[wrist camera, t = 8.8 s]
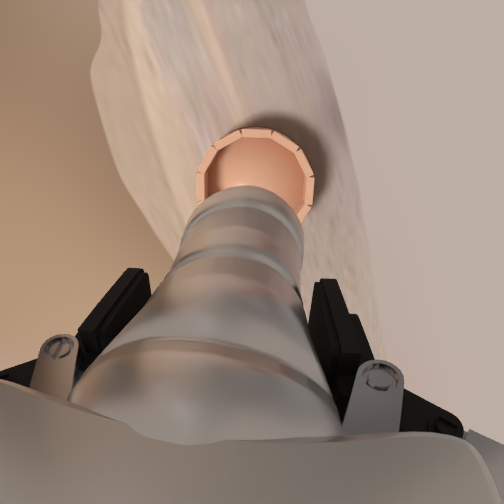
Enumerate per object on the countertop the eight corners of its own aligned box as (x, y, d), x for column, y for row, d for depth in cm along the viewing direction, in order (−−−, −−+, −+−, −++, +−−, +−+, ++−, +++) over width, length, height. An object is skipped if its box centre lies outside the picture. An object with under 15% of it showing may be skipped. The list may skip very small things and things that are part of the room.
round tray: (200, 126, 30) (194, 127, 27) (315, 130, 30) (319, 131, 27) (202, 232, 35) (196, 242, 32) (306, 237, 34) (309, 247, 32)
